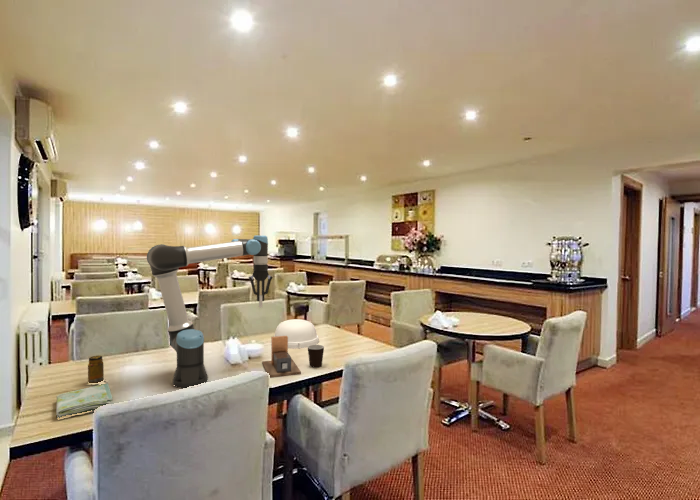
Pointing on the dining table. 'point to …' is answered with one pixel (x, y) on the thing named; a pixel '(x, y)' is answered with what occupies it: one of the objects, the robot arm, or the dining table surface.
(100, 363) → the condiment
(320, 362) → the coffee mug
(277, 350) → the wooden upright block
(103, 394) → the towel
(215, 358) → the dining table surface
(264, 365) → the base board
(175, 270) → the robot arm
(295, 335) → the dome cover
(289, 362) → the block
